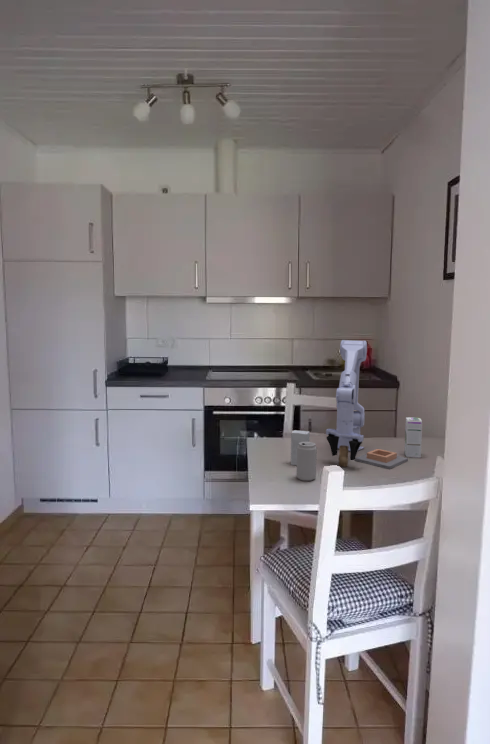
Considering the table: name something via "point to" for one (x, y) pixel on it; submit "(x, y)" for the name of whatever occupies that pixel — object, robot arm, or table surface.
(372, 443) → the table surface
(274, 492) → the table surface
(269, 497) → the table surface
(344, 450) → the wood peg
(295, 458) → the skincare box
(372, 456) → the collar stand
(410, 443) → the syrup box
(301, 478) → the beverage can
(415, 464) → the table surface
